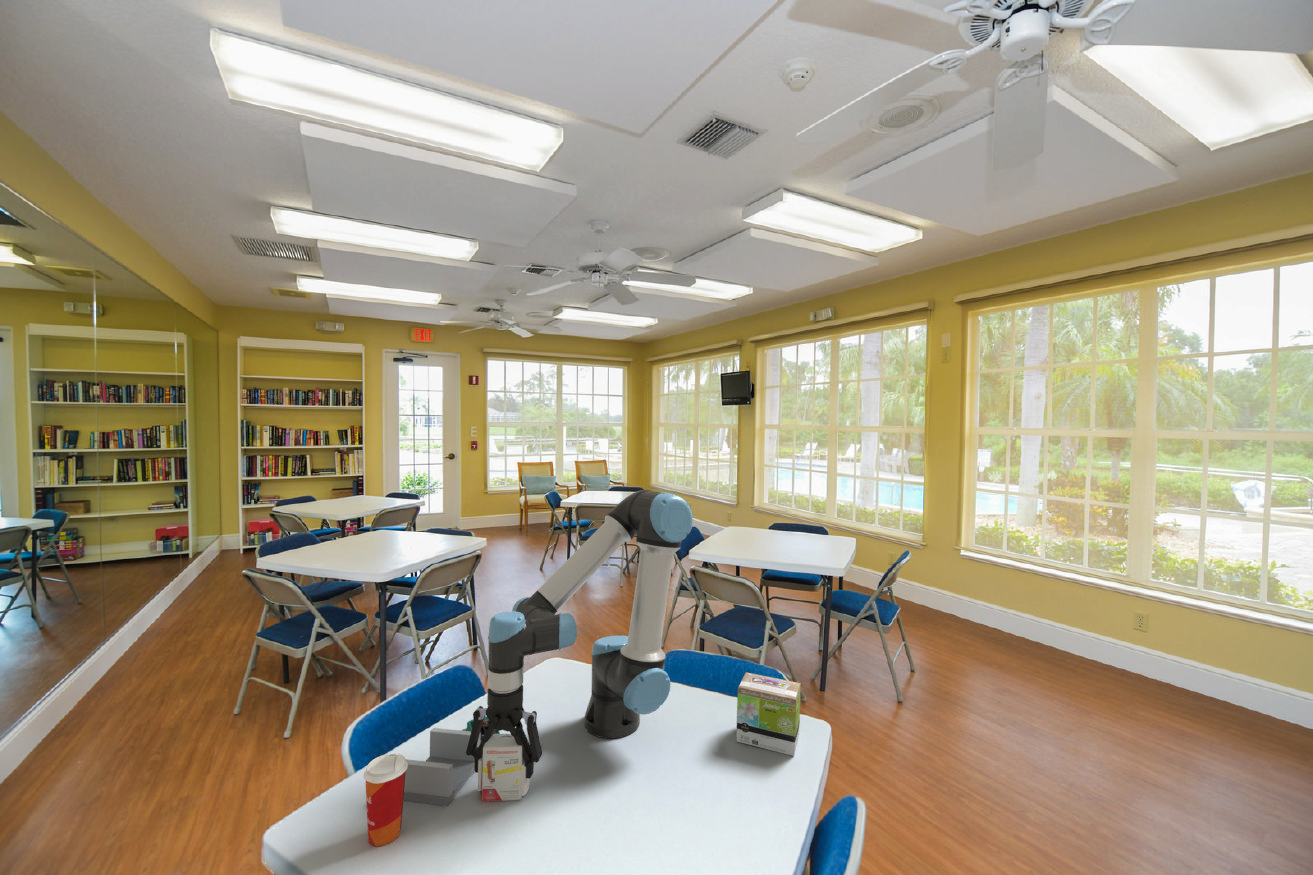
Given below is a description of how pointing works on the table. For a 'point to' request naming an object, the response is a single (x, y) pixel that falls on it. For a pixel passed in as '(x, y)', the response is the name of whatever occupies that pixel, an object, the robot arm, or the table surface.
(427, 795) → the dock
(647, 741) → the table surface
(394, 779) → the paper cup
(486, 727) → the digital multimeter
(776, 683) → the tea box
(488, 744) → the ink box
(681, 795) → the table surface
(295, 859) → the table surface
